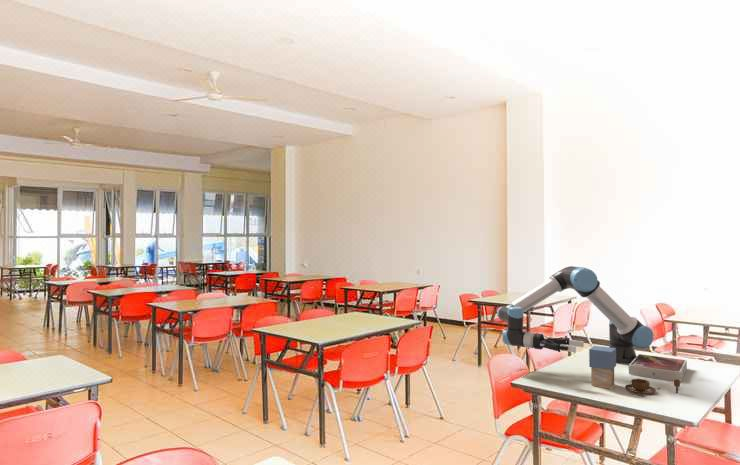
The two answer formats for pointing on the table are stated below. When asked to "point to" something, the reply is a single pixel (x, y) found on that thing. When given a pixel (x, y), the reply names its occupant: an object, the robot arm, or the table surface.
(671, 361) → the product packaging
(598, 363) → the blue cube
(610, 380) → the box
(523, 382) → the table surface
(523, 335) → the robot arm
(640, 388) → the place setting
